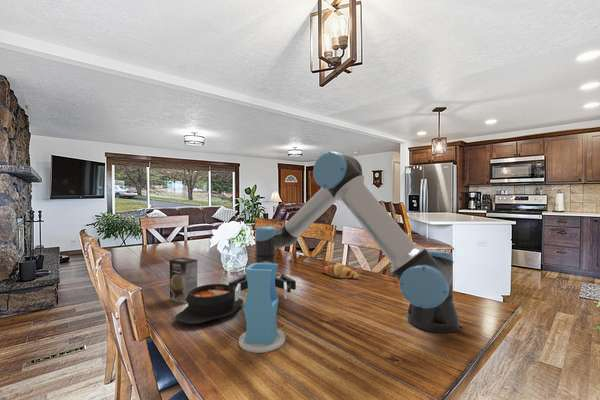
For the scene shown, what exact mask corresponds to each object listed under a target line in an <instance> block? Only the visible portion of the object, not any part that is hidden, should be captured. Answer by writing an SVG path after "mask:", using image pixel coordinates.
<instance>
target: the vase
mask: <svg viewBox="0 0 600 400" xmlns="http://www.w3.org/2000/svg"><path fill="white" fill-rule="evenodd" d="M278 266H279V263H276V264H268V263H256V262H253V263H251V264H250V265H248V266H246V267H245V269H244V271H245V275H246V276H247V282H248V289H247V293H246V298H245V301H244V303H243V314H244V318H245V326H246V330H245V332H246V336H245V340H244V343H250V344H263V345H270V344H272V343H273V342H274V340H275V338H276V336H277V334H278V331H277V329H278V326H277V312H278V306H279V300H280V299H279V295H278V292H277V290H276V289H277V287H275V275H276V276H277V269H278Z"/></svg>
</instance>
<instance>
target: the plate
mask: <svg viewBox="0 0 600 400" xmlns="http://www.w3.org/2000/svg"><path fill="white" fill-rule="evenodd" d="M277 331H278V334H277V336H276V338H275V340H274V342H273V343H272V344H270V345H263V344H250V343H244V340H245V336H246V331H244V332H243V333H241V334H240V335H239V337H238V346H239V347H240V348H241V349H242V350H243V351H246V352H249V353H255V354H262V353H269V352H274V351H275V350H278V349H280V348H281V347H282V346H283V345H284V344H285V342H286V334H285V332H283V331H282V330H281V329H279V328H277Z"/></svg>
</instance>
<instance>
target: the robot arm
mask: <svg viewBox="0 0 600 400" xmlns="http://www.w3.org/2000/svg"><path fill="white" fill-rule="evenodd" d="M312 176H313V179H314V181H315V183H316V184H317V185H318V186H319V187H320V189H319V190H318V191H317V192H316V193H315V194H314V195H313V196H312V197H310V199H309V200H307V202H306V203H305V204H303V206H302V207H300V208H299V209H298V210H297V212H295V213H294V215H292V216H291V218H290V219H288V220H287V221H286V222H285V224H284V225H283V226H282V227H280V228H279V229H276V228H275V227H274V226H271V225H270V226H267V225H266V226H265V225H263V226H258V227H256V229H255V237H254V239H255V263H268V264H277V263H276V250H278V249H280V248H281V249H282V248H285V247H289V246H290V247H291V246H292V245H294V244H296V243H297V241H298V238H299V237H300V235H301V234H303V232H305V231H306V230H307V229H308V228H309V227H310V226H311V225H312V224H313V223H314V222H315V221H316V220H318V219H319V217H321V216H322V215H323V214H324V213H325V212H326V211H327V210H328V209H330V208H331V206H332V205H334V203H336V202H337V201H341V202H343V204H344V205H345V206H346V207H347V209H348V210H349V212H351V214H352V215H353V217H355V219H356V220H357V222H358V223H359V224H360V226H362V228H363V229H364V230H365V232H366V233H367V234H368V235H369V238H371V240H373V242H374V243H375V244H376V245H377V247H378V248H379V250H380V251H381V252H382V253H383V255H384V256H385V257H386V258H387V260H388V261H389V262H390V264H391V269H390V272H391V274H392V275H393V276H394V277H395V278H396V280H397V281H398V282H399V289H400V291H401V294H402V296H403V297H404V298H405V300H406V301H407V302H408V303H409V306H408V308H407V311H406V312H407V313H406V314H407V317H406V319H407V321H408V323H410V325H412V326H414V327H415V328H418V329H422V330H424V331H428V332H432V333H438V334H439V333H441V334H446V333H447V334H448V333H454V332H457V331H458V330H460V318H459V314H458V311H457V309H456V305H455V303H454V272H453V271H454V270H453V269H454V260H453V254H452V253H451V252H448V251H442V250H431V249H430V250H429V249H427V248H425V247H423V246H418V245H416V244H415V243H414V242H413V241H412V240H411V238H410V237H409V236H408V235H407V233H405V231H404V230H403V228H401V226H400V225H399V224H398V223H397V221H396V220H395V219H394V218H393V217H392V216H391V214H390V213H389V212H388V211H387V210H386V209H385V207H384V206H383V205H382V203H380V201H379V200H378V199H377V198H376V197H375V195H374V193H372V192H371V191H370V189H369V188H368V187H367V186H366V185H365V184H364V183H365V176H364V175H363V168H362V165H361V163H360V162H359V161H358V160H357V159H356V158H354V157H352V156H350V155H347V154H343V153H341V152H340V151H326V152H324V153H323V154H320V156H319V157H318V158H317V159H316V160H315V162H314V164H313V170H312ZM228 285H229V292H232V291H233V294H235V301H238V299H239V298H240V296H241V293H242V291H245V290H246V289H247V290H248V282H247V276H246V274H244V275H242V276H241V277H239V278H237V279H235V280H232V281H230V282H228ZM296 287H297V282H296V280H294V279H293V278H291V277H289V276H286V275H285V273H281V274H280V275H279V276H277V274H276V275H275V288H279V289H282V290H283V295H284V296H283V297H284V300H287V299H288V293H291V290H296V289H297V288H296Z"/></svg>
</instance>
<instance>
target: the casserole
mask: <svg viewBox="0 0 600 400" xmlns="http://www.w3.org/2000/svg"><path fill="white" fill-rule="evenodd" d="M185 300H186V302H187V305H188V306H186V307H185V308H184V309H183V310H182V311H180V312H178V313H177V314H176V315H175V316H174V319H175V320H176V321H177V322H180V323H183V324H190V325H199V324H204V323H206V322H208V321H209V322H210V321H212V320H218V319H221V318H225V317H228V316H230V315H232V314H233V313H235V312H236V311H237V310H238V309H239V308H240V306H241V305H242V304H244V303H245V301H244V300H243V298H240V297H239V299H238V301H235V294H233V291H232V292H229V284H227V283H225V284H224V283H211V284H210V283H209V284H204V285H200V286H197V287H196V288H194V289H192V290H190V291H189V293H188V296H187V297H186V299H185Z"/></svg>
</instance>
